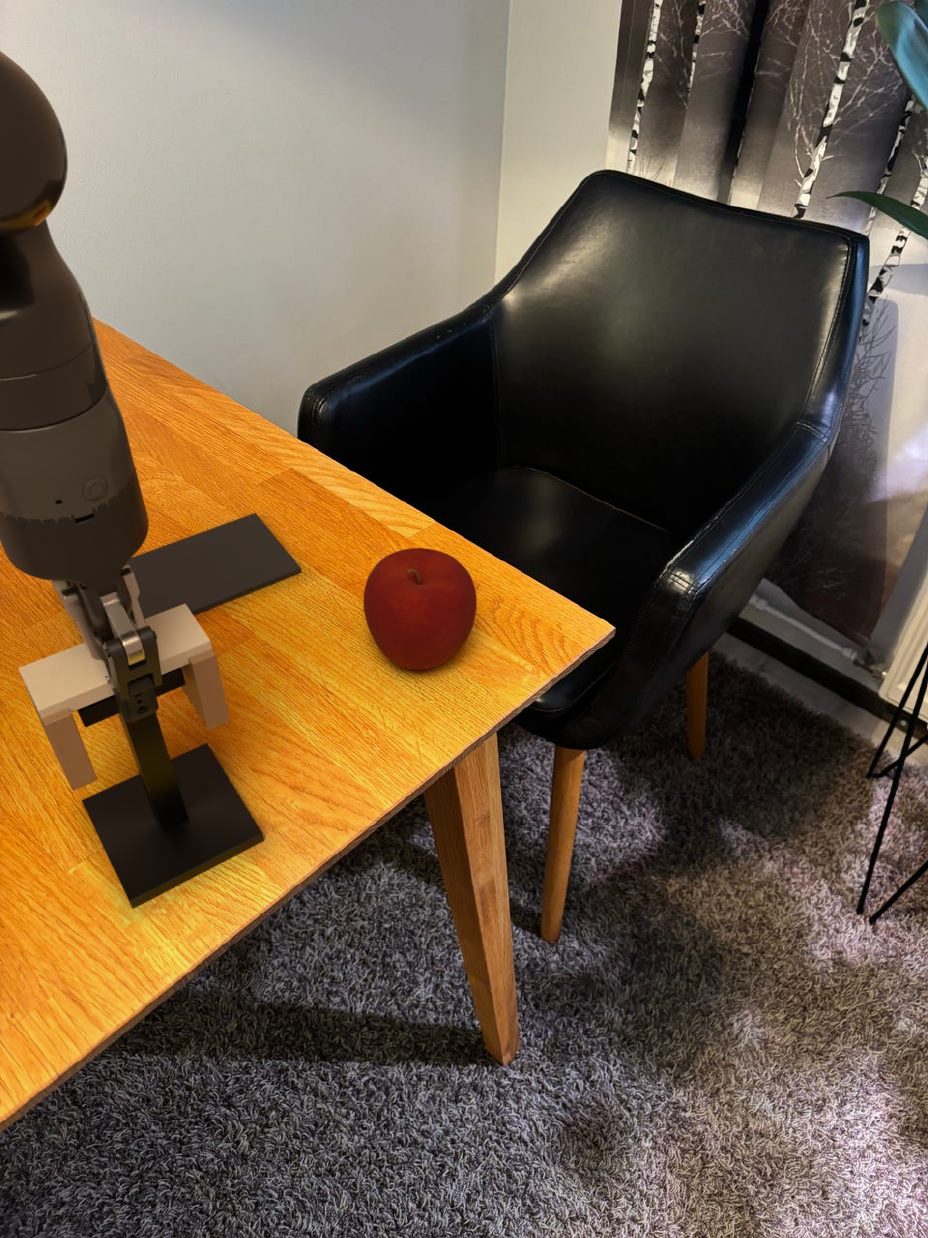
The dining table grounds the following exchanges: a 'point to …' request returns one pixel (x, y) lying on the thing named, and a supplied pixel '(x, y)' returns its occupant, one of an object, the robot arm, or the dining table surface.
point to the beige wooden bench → (82, 682)
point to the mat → (211, 567)
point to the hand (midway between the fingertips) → (127, 690)
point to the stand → (166, 808)
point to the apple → (419, 607)
